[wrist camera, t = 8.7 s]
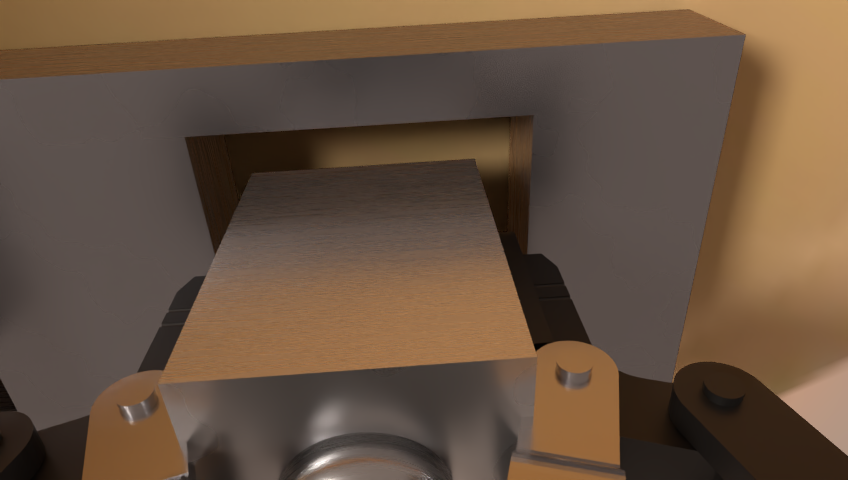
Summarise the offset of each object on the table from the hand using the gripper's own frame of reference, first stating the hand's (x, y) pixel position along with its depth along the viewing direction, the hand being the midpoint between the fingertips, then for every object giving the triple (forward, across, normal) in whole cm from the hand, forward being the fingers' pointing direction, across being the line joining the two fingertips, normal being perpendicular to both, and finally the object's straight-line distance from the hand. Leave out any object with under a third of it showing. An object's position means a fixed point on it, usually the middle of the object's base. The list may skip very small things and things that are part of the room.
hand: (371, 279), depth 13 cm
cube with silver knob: (+1, 0, 0) cm, 1 cm away
